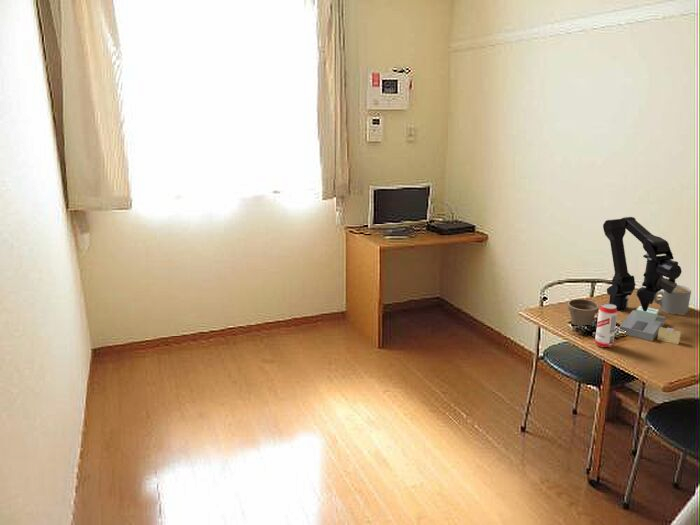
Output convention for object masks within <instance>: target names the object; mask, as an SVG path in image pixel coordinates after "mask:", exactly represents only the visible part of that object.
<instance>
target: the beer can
mask: <svg viewBox="0 0 700 525" xmlns="http://www.w3.org/2000/svg"><path fill="white" fill-rule="evenodd" d="M616 308H617V307H616V306H615V305H613V304H609V303H608V302H607V303H606V302H605V303H602V304H601V306H599V310H598V313H597V323H596V331H595V338H594V342H595V344H596V346H597V345H598V346H597V347H599V346H601V347H600V348H602V347H610V348H611V347H613V346H614V342H615V341H614V340H615V333H616V325H617V318H618V312H619V310H617V309H616Z"/></svg>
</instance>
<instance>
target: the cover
mask: <svg viewBox="0 0 700 525" xmlns="http://www.w3.org/2000/svg"><path fill="white" fill-rule="evenodd" d="M659 310H660V309H657V308H653V307H648V309H647V311H643V308H642V306H641V305H639V306H638V307H637V308H636V317H640V318H645V319H649V320H654V321H655V320H656V318H657V317H658V315H659V313H660V312H659Z"/></svg>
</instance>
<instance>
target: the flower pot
mask: <svg viewBox="0 0 700 525" xmlns="http://www.w3.org/2000/svg"><path fill="white" fill-rule="evenodd" d="M599 308H600V306H599V304H598V303H597V302H596V301H593V300H589V299H586V298H576V299H571V300H569V301H568V302H567V309H568V311H569V314H570V315H569V316H570V322H571V325H572V324H574V325H580V326H583V325H584V326H585V325H590V324H591V325H593V324H592V323H593V321H594V318H595V316H596V315H598V314H599Z"/></svg>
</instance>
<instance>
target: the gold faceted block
mask: <svg viewBox="0 0 700 525" xmlns="http://www.w3.org/2000/svg"><path fill="white" fill-rule="evenodd" d="M681 336H682V331H680V330H676V329H675V328H673V327H663V326H662V327H660V328H659V332H658V334H657V337H656V338H657V339H656V340H658V341H660V342H661V341H662V342H666V343H670V344H674V345H679V343H680V339H681Z"/></svg>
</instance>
